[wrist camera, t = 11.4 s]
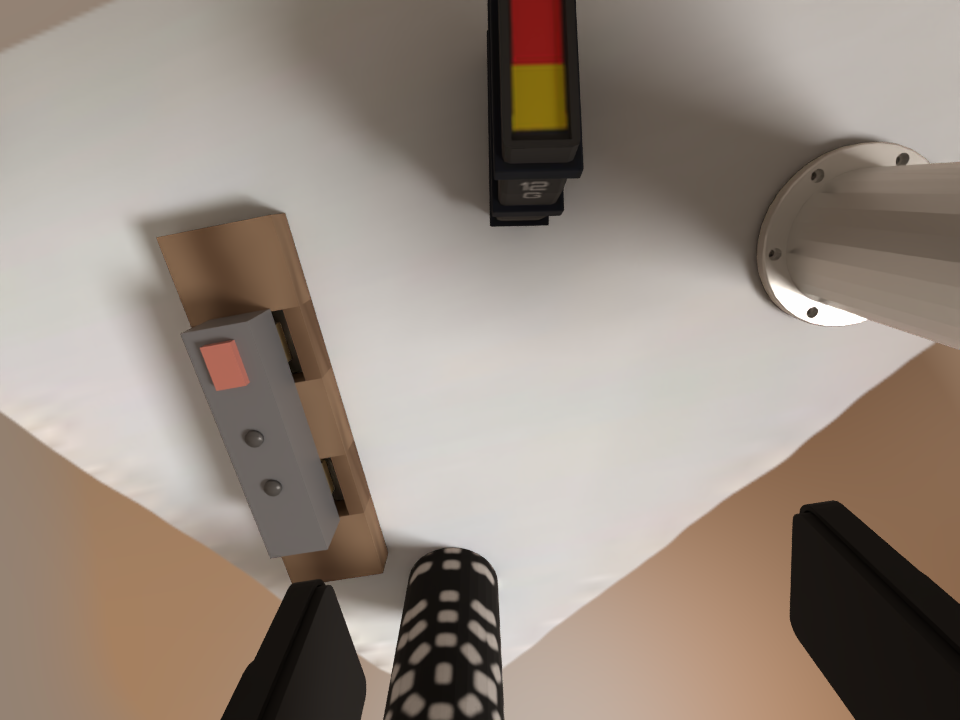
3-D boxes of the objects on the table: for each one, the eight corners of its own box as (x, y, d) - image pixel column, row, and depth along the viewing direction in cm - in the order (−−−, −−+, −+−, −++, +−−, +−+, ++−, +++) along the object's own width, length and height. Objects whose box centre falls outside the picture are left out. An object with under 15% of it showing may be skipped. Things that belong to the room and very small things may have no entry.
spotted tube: (406, 547, 44) (352, 815, 25) (498, 547, 44) (513, 815, 25) (410, 618, 47) (363, 908, 28) (497, 618, 47) (509, 908, 28)
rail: (285, 213, 34) (270, 214, 32) (388, 552, 44) (383, 573, 42) (177, 234, 35) (156, 237, 33) (303, 565, 45) (293, 586, 42)
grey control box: (283, 301, 37) (243, 323, 30) (347, 501, 42) (325, 555, 36) (226, 311, 37) (174, 336, 31) (297, 509, 43) (267, 564, 36)
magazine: (490, 269, 34) (494, 157, 19) (486, 94, 36) (487, -136, 21) (544, 268, 34) (589, 155, 19) (537, 92, 36) (575, -139, 21)
